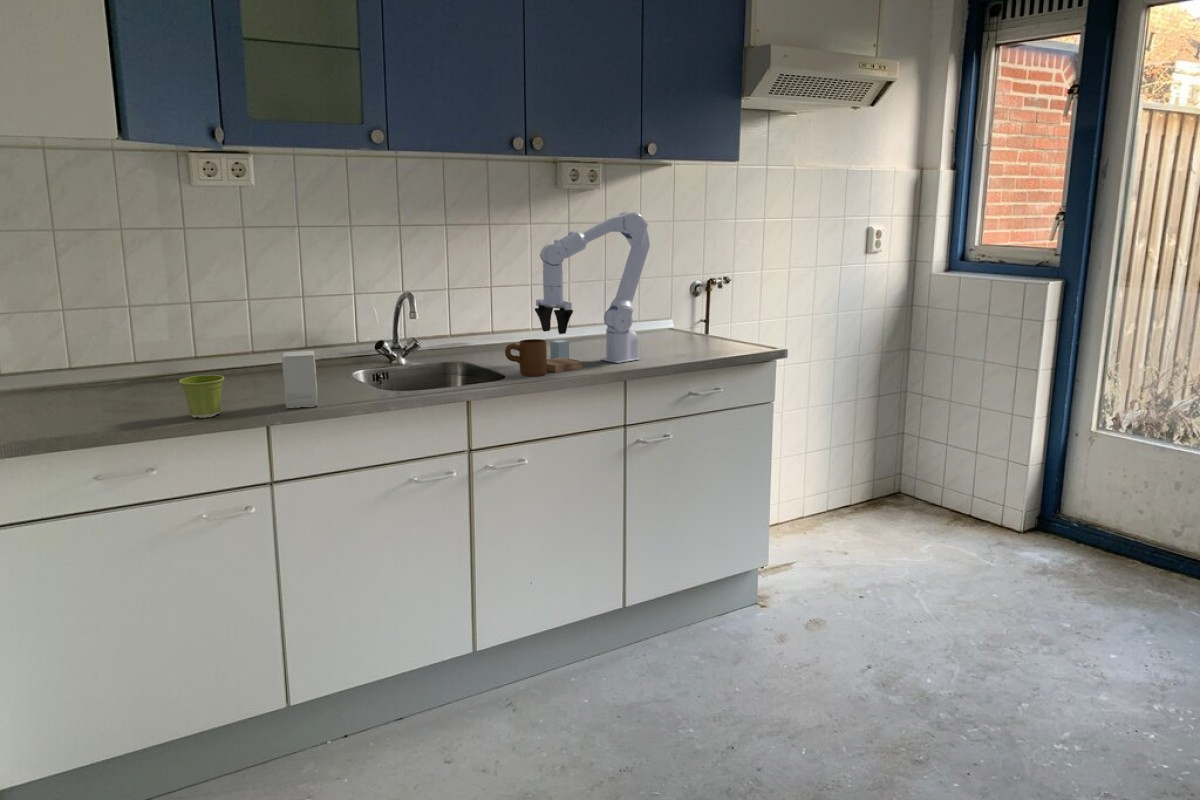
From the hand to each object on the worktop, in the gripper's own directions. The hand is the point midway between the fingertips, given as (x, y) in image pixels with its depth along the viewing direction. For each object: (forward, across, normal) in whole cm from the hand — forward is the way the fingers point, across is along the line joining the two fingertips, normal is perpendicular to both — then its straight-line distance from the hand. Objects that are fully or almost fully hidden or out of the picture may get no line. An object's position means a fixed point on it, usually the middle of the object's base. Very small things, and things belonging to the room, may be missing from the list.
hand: (554, 332), depth 263 cm
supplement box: (+9, +2, -78) cm, 79 cm away
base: (+10, +6, -3) cm, 11 cm away
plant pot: (+9, -3, -99) cm, 99 cm away
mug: (+10, +8, -16) cm, 20 cm away
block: (+10, -4, +5) cm, 12 cm away
